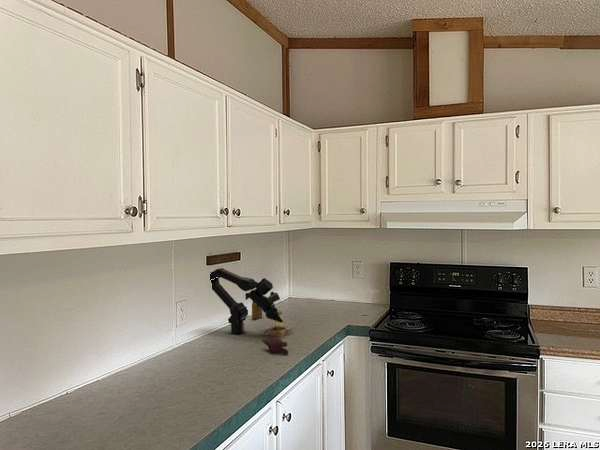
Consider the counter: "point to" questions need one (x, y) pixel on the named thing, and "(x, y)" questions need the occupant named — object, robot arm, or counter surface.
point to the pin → (278, 324)
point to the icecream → (276, 345)
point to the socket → (276, 333)
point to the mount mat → (267, 327)
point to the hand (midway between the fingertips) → (281, 319)
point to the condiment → (256, 312)
